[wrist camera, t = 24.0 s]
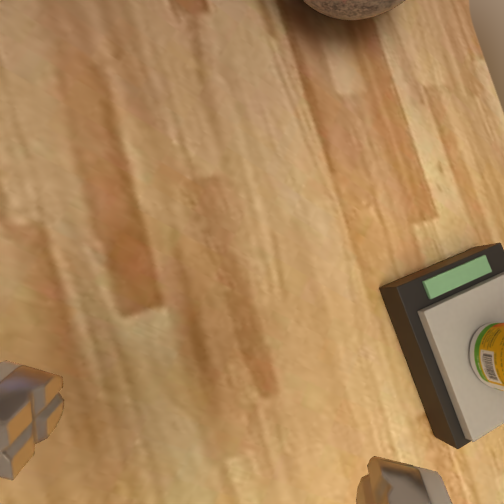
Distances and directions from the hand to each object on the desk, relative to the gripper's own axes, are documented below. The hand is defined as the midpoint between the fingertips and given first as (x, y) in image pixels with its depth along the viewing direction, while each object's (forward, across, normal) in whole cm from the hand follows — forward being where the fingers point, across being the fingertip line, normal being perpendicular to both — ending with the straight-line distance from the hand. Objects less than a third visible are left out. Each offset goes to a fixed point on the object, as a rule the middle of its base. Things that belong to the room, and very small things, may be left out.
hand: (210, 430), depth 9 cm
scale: (+23, -19, +8) cm, 31 cm away
